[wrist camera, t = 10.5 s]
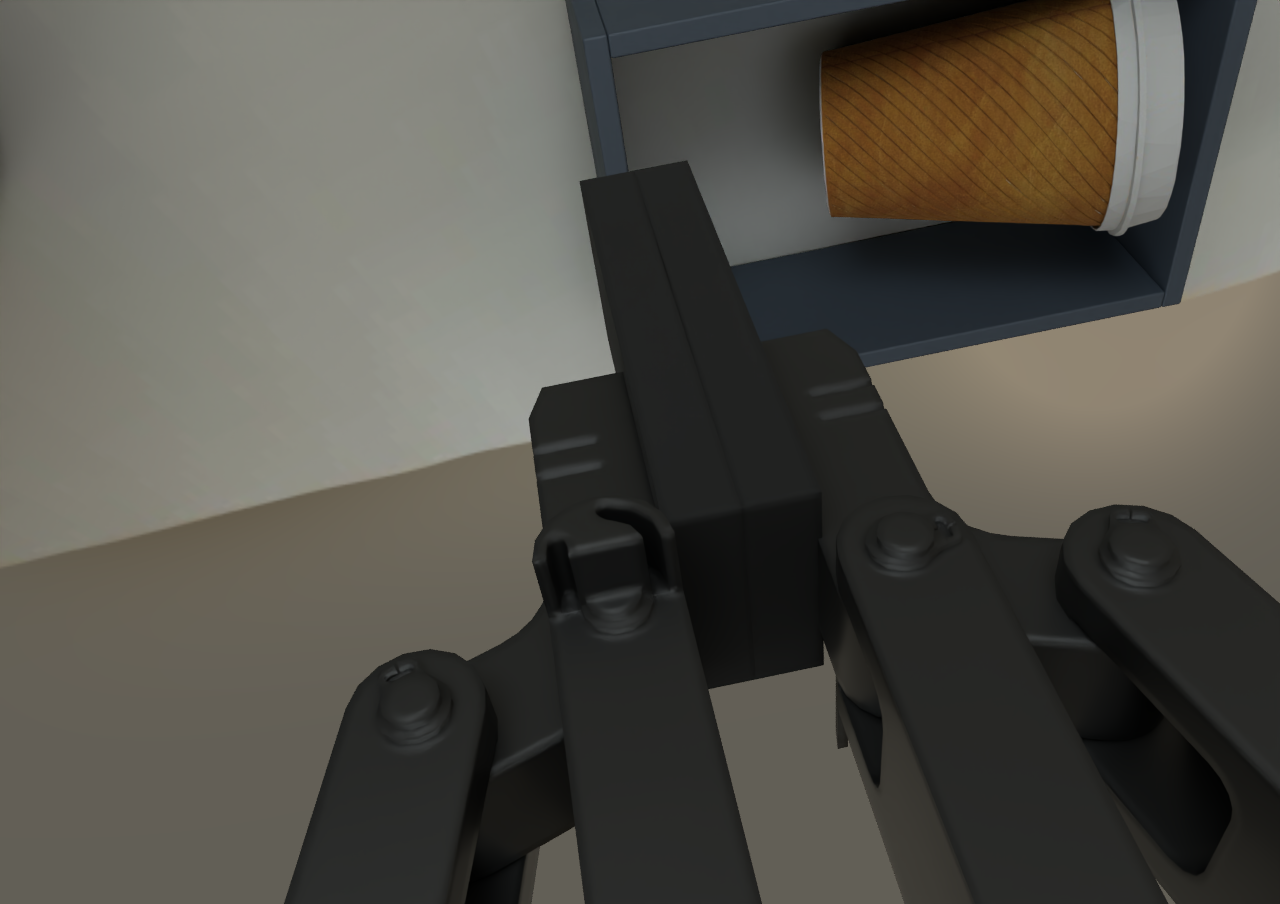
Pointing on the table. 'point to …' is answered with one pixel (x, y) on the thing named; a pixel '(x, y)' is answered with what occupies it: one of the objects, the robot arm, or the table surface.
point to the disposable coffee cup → (1010, 117)
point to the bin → (949, 253)
